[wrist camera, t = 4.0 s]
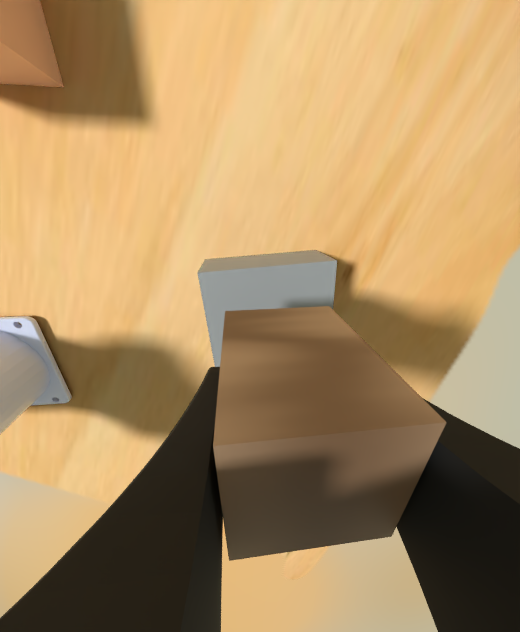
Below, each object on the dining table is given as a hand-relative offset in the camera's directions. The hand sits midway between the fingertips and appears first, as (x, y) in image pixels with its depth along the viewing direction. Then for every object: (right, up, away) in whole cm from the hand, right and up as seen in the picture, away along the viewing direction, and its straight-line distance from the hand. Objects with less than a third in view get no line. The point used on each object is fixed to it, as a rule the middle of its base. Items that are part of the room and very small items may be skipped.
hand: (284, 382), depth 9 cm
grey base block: (-1, +4, +9) cm, 10 cm away
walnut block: (0, +1, +2) cm, 2 cm away
